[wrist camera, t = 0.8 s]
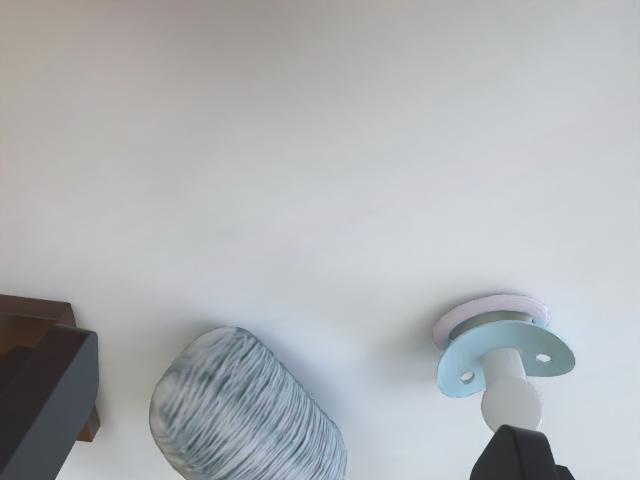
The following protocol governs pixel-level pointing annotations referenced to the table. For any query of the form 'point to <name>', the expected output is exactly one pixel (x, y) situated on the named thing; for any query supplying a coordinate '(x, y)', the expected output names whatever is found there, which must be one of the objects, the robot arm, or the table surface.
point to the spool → (241, 415)
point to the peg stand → (37, 334)
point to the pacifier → (501, 359)
